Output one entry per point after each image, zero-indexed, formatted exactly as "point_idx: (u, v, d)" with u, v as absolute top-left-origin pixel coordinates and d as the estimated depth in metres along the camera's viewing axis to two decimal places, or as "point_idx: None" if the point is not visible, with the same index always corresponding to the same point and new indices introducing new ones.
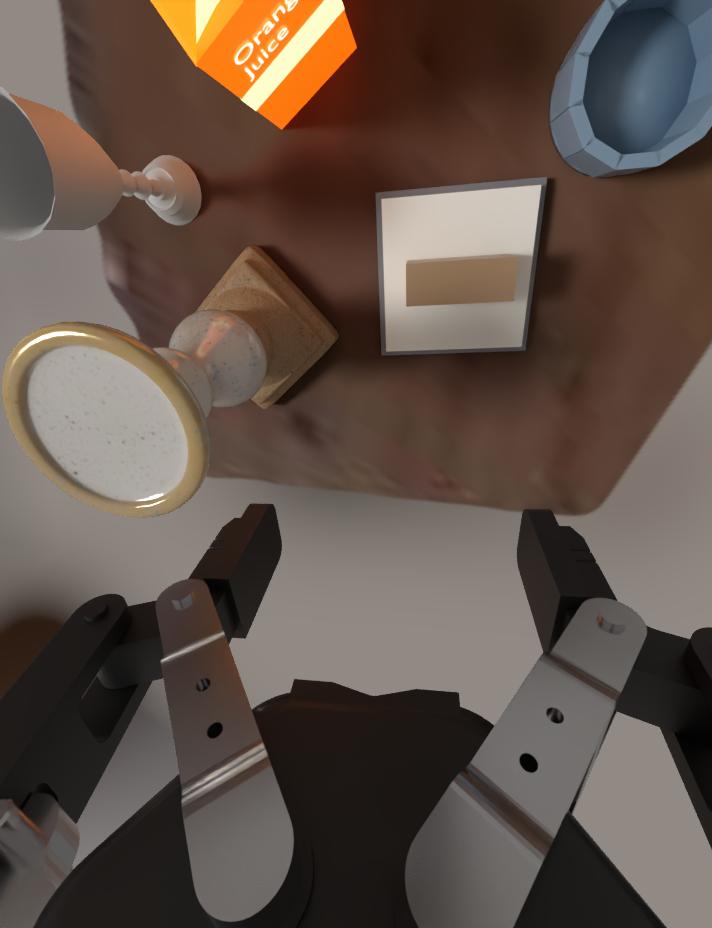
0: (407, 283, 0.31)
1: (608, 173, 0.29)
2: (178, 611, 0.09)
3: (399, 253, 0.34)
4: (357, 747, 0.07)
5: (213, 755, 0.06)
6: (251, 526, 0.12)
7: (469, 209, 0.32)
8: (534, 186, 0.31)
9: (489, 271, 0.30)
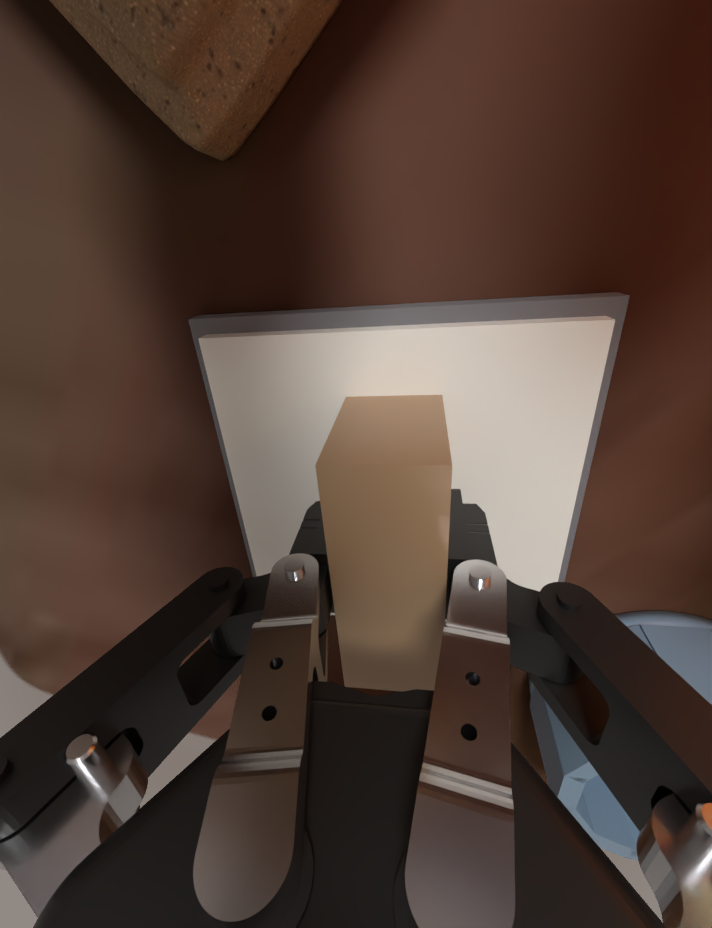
0: (389, 469, 0.09)
1: (548, 724, 0.17)
2: (295, 582, 0.10)
3: (461, 373, 0.12)
4: (357, 747, 0.07)
5: (258, 737, 0.06)
6: None
7: (532, 524, 0.15)
8: None
9: (413, 651, 0.12)
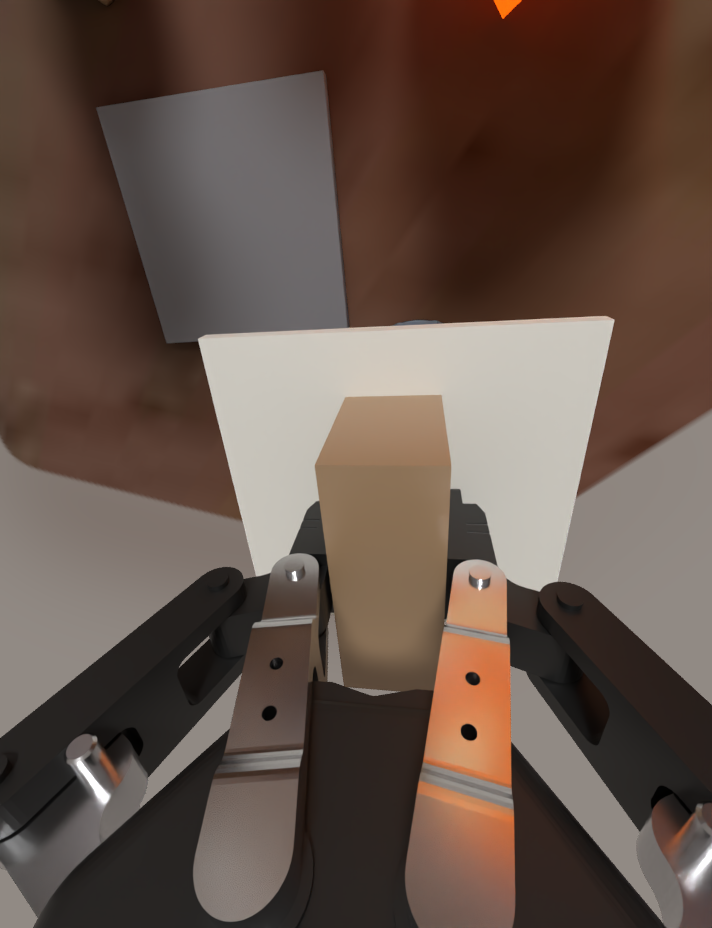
0: (388, 470, 0.09)
1: None
2: (295, 582, 0.10)
3: (460, 373, 0.12)
4: (357, 747, 0.07)
5: (258, 736, 0.06)
6: None
7: (532, 524, 0.15)
8: None
9: (412, 651, 0.12)
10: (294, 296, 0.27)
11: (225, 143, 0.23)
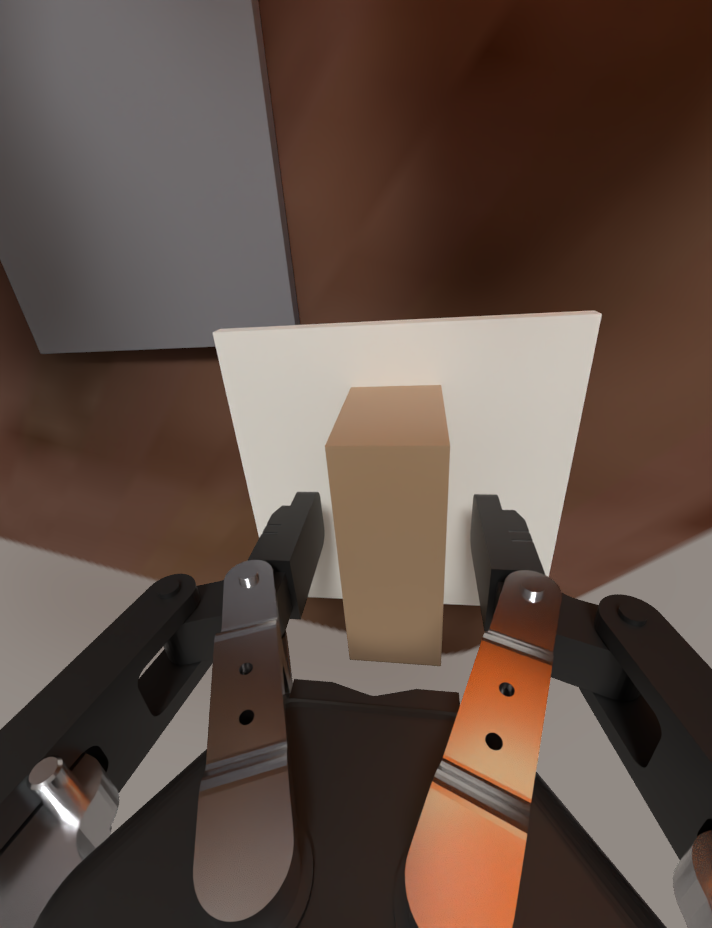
0: (392, 450, 0.10)
1: None
2: (247, 589, 0.10)
3: (459, 364, 0.13)
4: (357, 747, 0.07)
5: (239, 742, 0.06)
6: (302, 512, 0.13)
7: (527, 508, 0.15)
8: None
9: (414, 623, 0.13)
10: (216, 289, 0.18)
11: (88, 35, 0.14)
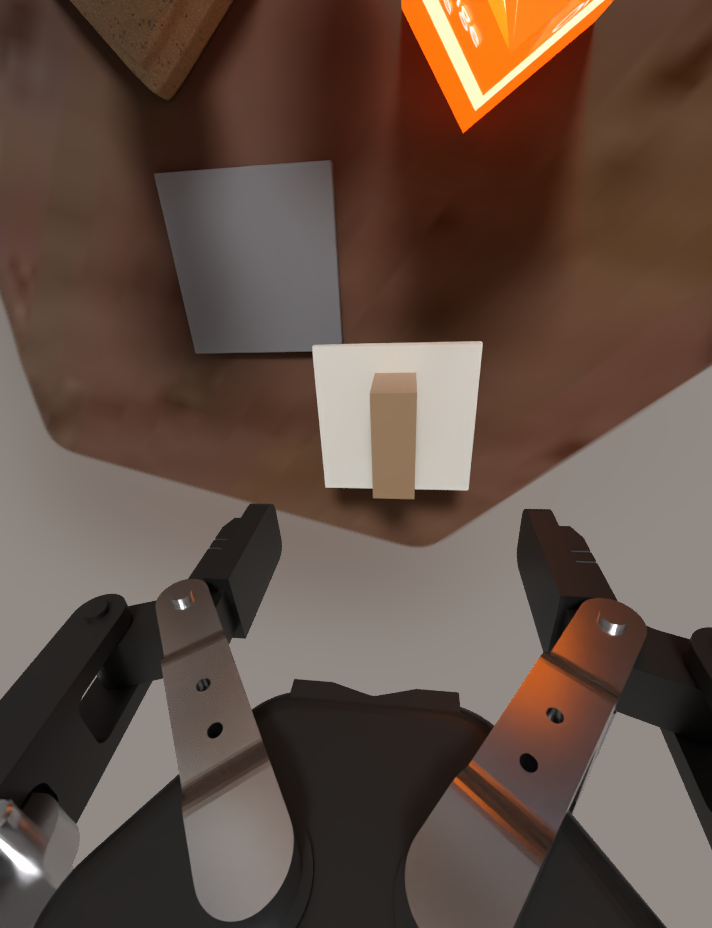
0: (395, 395, 0.26)
1: None
2: (178, 611, 0.09)
3: (423, 363, 0.30)
4: (357, 747, 0.07)
5: (213, 755, 0.06)
6: (251, 526, 0.12)
7: (457, 433, 0.32)
8: (467, 485, 0.34)
9: (402, 475, 0.29)
10: (301, 322, 0.34)
11: (253, 206, 0.30)
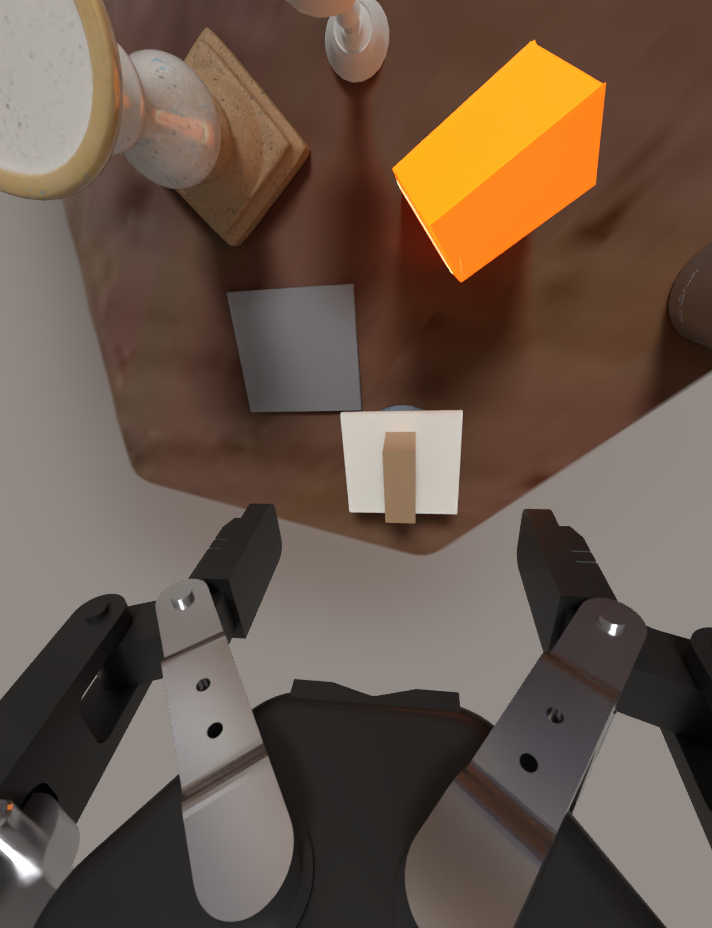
0: (400, 453, 0.38)
1: None
2: (178, 611, 0.09)
3: (421, 425, 0.41)
4: (357, 747, 0.07)
5: (213, 756, 0.06)
6: (251, 526, 0.12)
7: (447, 473, 0.43)
8: (456, 510, 0.45)
9: (406, 507, 0.41)
10: (330, 390, 0.46)
11: (297, 313, 0.42)
